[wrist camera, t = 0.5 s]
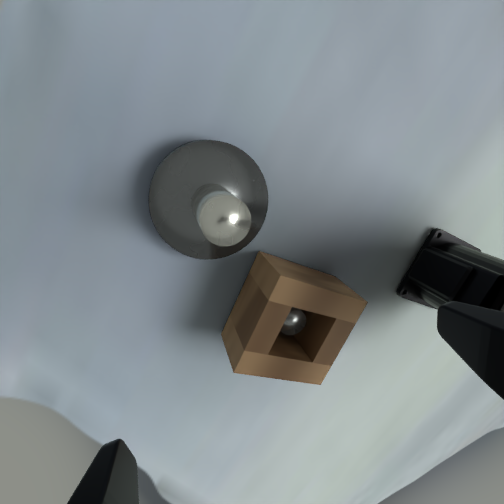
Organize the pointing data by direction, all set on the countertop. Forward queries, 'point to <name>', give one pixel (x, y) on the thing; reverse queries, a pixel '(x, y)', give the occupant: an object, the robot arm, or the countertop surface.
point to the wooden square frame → (275, 313)
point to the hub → (208, 199)
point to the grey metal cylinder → (294, 322)
